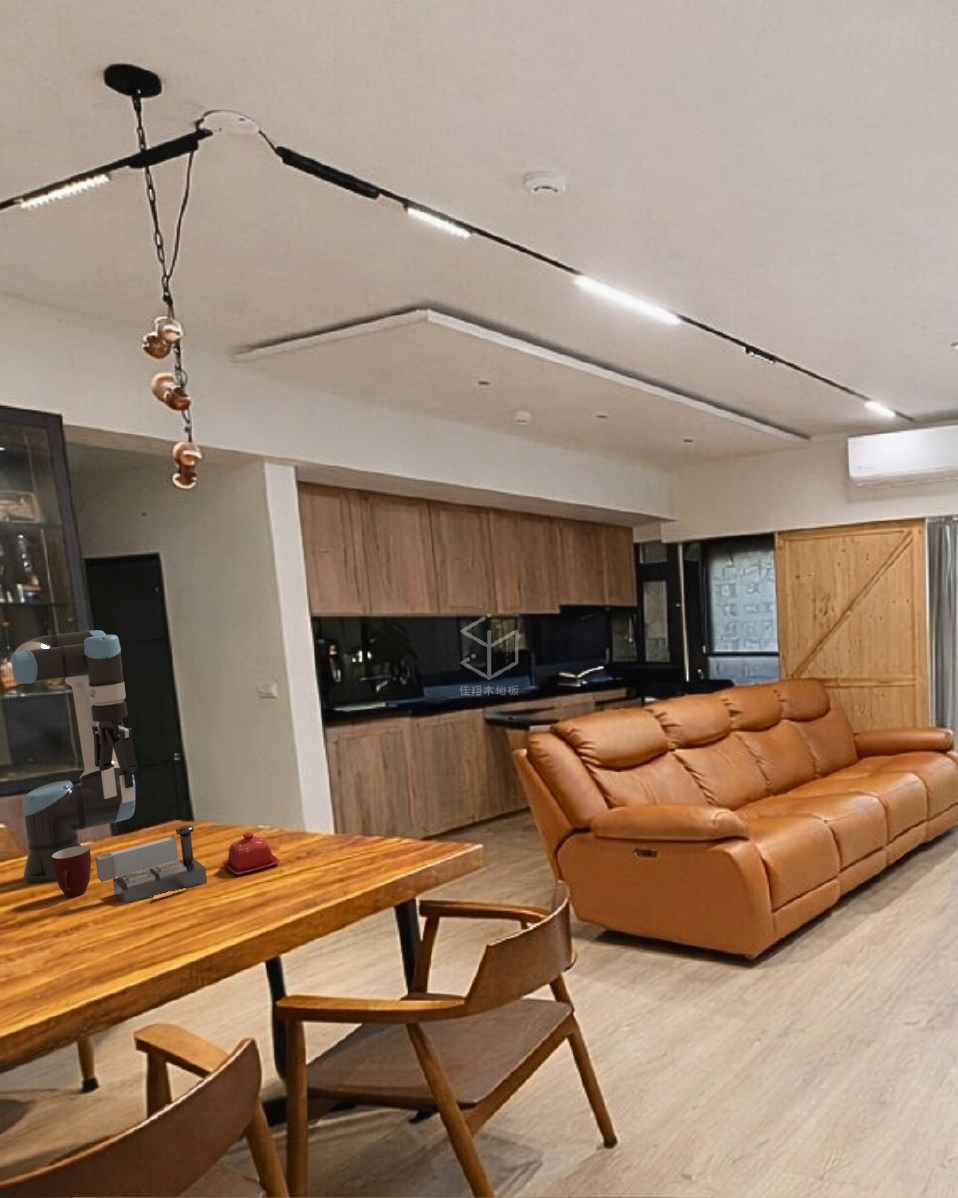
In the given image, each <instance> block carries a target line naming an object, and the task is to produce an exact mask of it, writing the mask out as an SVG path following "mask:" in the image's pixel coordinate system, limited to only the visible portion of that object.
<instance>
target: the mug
mask: <svg viewBox="0 0 958 1198" xmlns="http://www.w3.org/2000/svg"><path fill="white" fill-rule="evenodd" d="M52 864H53V869H54V872H55V876H56V879H57V881H56V882H57V884H58V887H59V889H60V890H61V891H62V893H63V894H64V895H65V897H67V898H75V897H79V896H82V895H84V894H85V893H86V891H87V888H88V887H89V884H90V878H91V867H92V866H91V865H92V855H91V850H90V847H89V846H85V845H81V846H76V847H70V848H66V849H63V850H60V851H58V852H56V853H54V854H53V855H52Z"/></svg>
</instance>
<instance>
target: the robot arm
mask: <svg viewBox="0 0 958 1198" xmlns="http://www.w3.org/2000/svg"><path fill="white" fill-rule="evenodd" d="M121 652H122V647H121V643H120V639H119V637H118V636H117V635H116V634H106V633H105V632H104V631H103V630H97V629H96V630H95V629H94V630H89V629H88V630H84V631H77V632H67V633H66V632H65V633H60V634H59V633H57V634H52V635H42V636H38V637H36V638H32V639H30V640H27V641H25V642H24V643H22V644H20V645H19V646H18V647H17V648H15V650H14V651H13V652H12V654H11V656H10V660H11V662H10V663H11V670H12V677H13V682H14V683H15V684H17V685H22V684H33V683H39V682H40V683H41V682H45V681H52V680H60V679H64V682H65V684H67V685H68V686H70V687H71V688H72V693H73V694H72V695H73V701H74V707H75V713H76V714H75V715H76V720H77V727H78V728H77V729H78V734H79V741H80V747H81V752H82V753H81V754H82V759H83V760H82V761H83V766H84V771H83V773H82V774H81V775H80V777H79V783H78V784H74V785H73V783H72V781H70V780H69V779H68V780H67V779H66V780H62V781H60V780H59V781H55V782H51V783H47V784H45V785H41V786H39V787H37V788H34V789H33V790H31V791H30V792H28V793H27V794H26V795H25V796H24V798H23V801H22V802H23V803H22V804H23V812H22V813H23V817H24V820H25V830H26V840H27V841H26V842H27V847H28V848H27V849H28V854H27V859H26V862H25V867H24V872H23V878H24V879H23V880H24V883H26V884H33V885H35V884H36V885H37V884H38V885H39V884H47V883H54V882H57V879H56V876H55V872H54V869H53V864H52V855H53V854H54V853H56V852H58V851H60V850H63V849H66V848H70V847H76V846H82V845H81V842H80V841H79V834H78V832H79V831H81V830H86V829H91V828H95V827H99V826H106V825H110V824H113V823H114V824H117V823H118V822H121V821H126V820H128V819H130V818H132V817H133V816H134V814H135V809H136V781H135V775H134V774H133V773H134V772H135V771H137V770H138V769H139V768H138V763H137V758H136V752H135V747H134V746H135V745H134V742H133V730H132V727H125V725H124V722H123V719H124V718H127V717H128V707H127V704H128V703H127V701H125V699H126V697H127V695H126V687H125V681H124V680H125V679H124V674H123V673H124V672H123V664H122V655H121V654H122V653H121Z"/></svg>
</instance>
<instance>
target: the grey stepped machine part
mask: <svg viewBox="0 0 958 1198" xmlns="http://www.w3.org/2000/svg"><path fill="white" fill-rule="evenodd" d="M194 831H195V827H194V825H183V826H179V827H177V828H175V834H176V835H179V838H180V848H181V855H182V859H180V860H179V859H178V860H175V861H171V862H168V863H164V864H160V865H157V866H153V867H150V868H146V869H143V870H139V871H136V872H132V873H128V874H125V875H121V876H118V877H116V878H114V879H112V881H113V892H114V895H115V896H116V898H118V899H119V900H120V899H121V900H122V902H123V903H124V904H125V903H126V904H129V903H128V902H130V903H133V902H132V901H134V902H136V901H135V900H138V899H142V900H145V898H146V899H149V898H148V897H150V896H154V895H158V894H162V893H166V892H168V891H175V890H179V889H183V888H187V887H188V888H191V887H190V886H192V887H195V886H194V885H196V886H199V885H198V884H200V885H203V884H202V883H204V884H207V883H208V878H207V871H206V870H207V869H206V867H205V866H204V865H203V864H202V863H200V862H199V861H198V860H197V859H195V858H194V850H193V841H192V833H193V832H194ZM188 888H187V889H188ZM150 898H151V897H150ZM121 900H120V901H121ZM138 901H139V900H138Z"/></svg>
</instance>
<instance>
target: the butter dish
mask: <svg viewBox="0 0 958 1198" xmlns="http://www.w3.org/2000/svg"><path fill="white" fill-rule="evenodd" d="M242 837H243V838H241V839H238V840H237V841H234V842H233V843H232V844H230V845H229V850H228V859H226V860H223V861H222V862H221V863H222V865H223V866H224V867H226V868H227V869H228V870H230V872H232V873H233V874H235V875H238V876H239V875H245V874H247V873H248V874H249V873H251V872H254V871H258V870H262V869H264V868H268V867H272V866H275V865H277V864H279V863H280V862H281V860H280V859H279V858H278V857H277V856H276V855H274V854H273V852H272V849H271V846H270V844H269V842H267V840H265V839H264V838H263V837H260V836H254V832H252V831H248V832H247V831H246V832H245V833H243V835H242Z"/></svg>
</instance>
